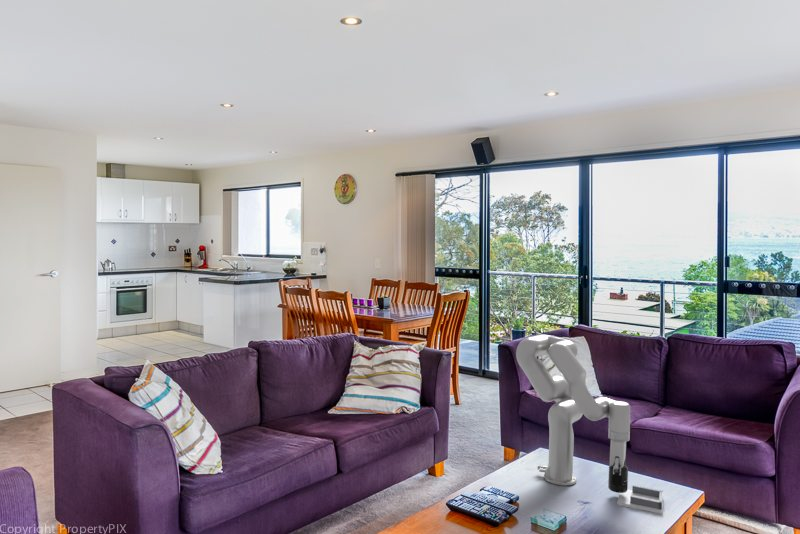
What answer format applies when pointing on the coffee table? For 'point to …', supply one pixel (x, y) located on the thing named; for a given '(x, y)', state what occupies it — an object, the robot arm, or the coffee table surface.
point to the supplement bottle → (624, 480)
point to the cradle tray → (642, 499)
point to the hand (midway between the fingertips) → (617, 481)
